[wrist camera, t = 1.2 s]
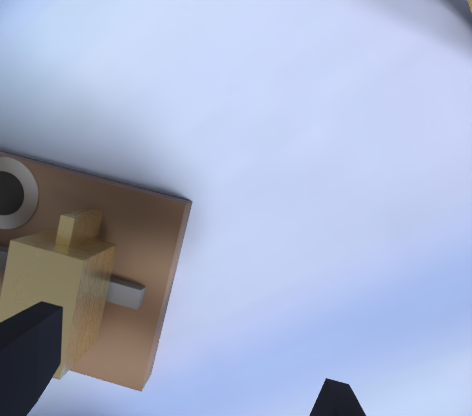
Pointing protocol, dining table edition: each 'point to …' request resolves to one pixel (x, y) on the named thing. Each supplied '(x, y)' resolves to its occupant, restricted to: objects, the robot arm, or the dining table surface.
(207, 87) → the dining table surface
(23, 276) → the block
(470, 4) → the ring
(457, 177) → the dining table surface
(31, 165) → the flat brown board
